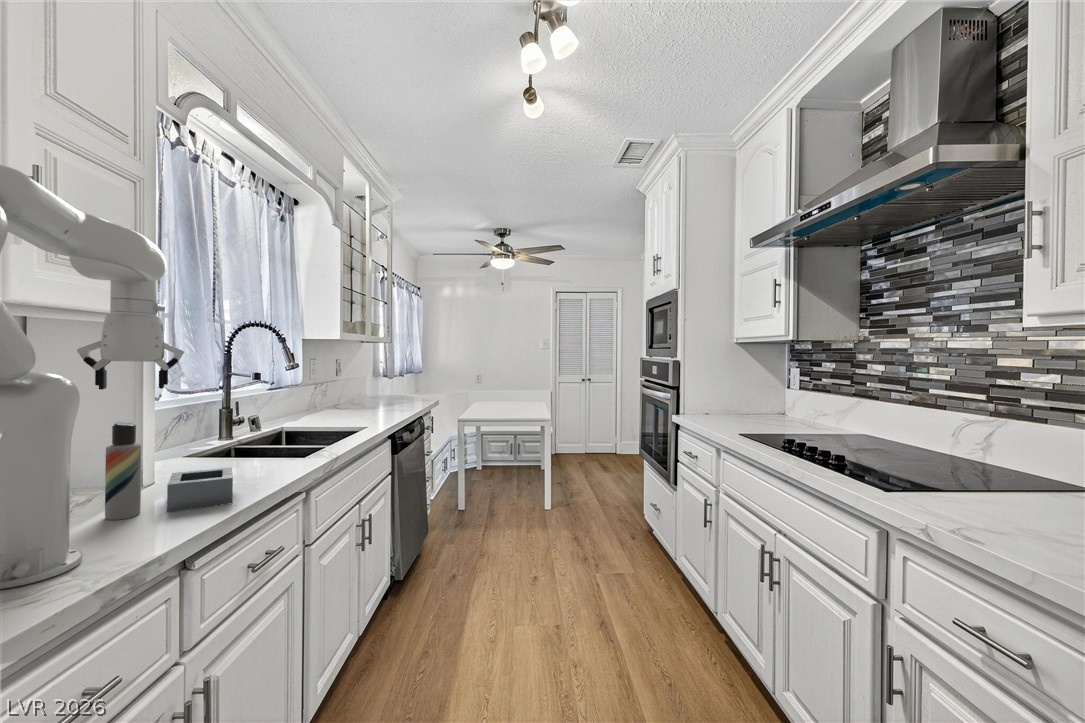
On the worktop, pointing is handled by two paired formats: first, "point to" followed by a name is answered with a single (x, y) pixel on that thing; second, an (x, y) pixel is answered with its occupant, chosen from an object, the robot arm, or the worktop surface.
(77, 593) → the worktop surface
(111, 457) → the lotion bottle
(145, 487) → the worktop surface
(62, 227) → the robot arm
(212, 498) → the socket block
